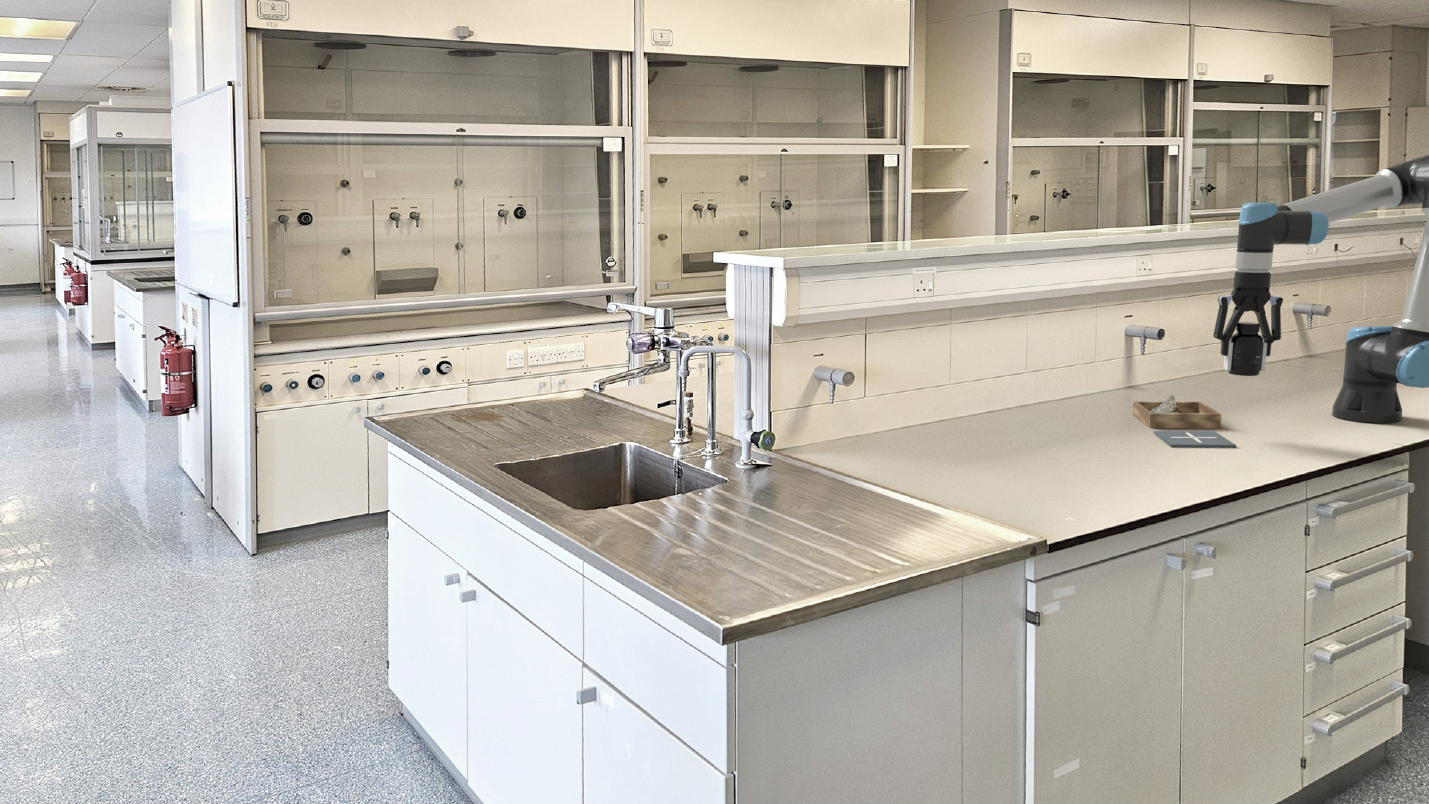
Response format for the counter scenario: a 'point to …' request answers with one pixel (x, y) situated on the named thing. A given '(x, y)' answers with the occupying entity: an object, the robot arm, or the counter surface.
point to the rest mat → (1194, 439)
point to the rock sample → (1167, 406)
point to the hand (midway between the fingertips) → (1243, 369)
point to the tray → (1178, 415)
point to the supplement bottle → (1246, 350)
